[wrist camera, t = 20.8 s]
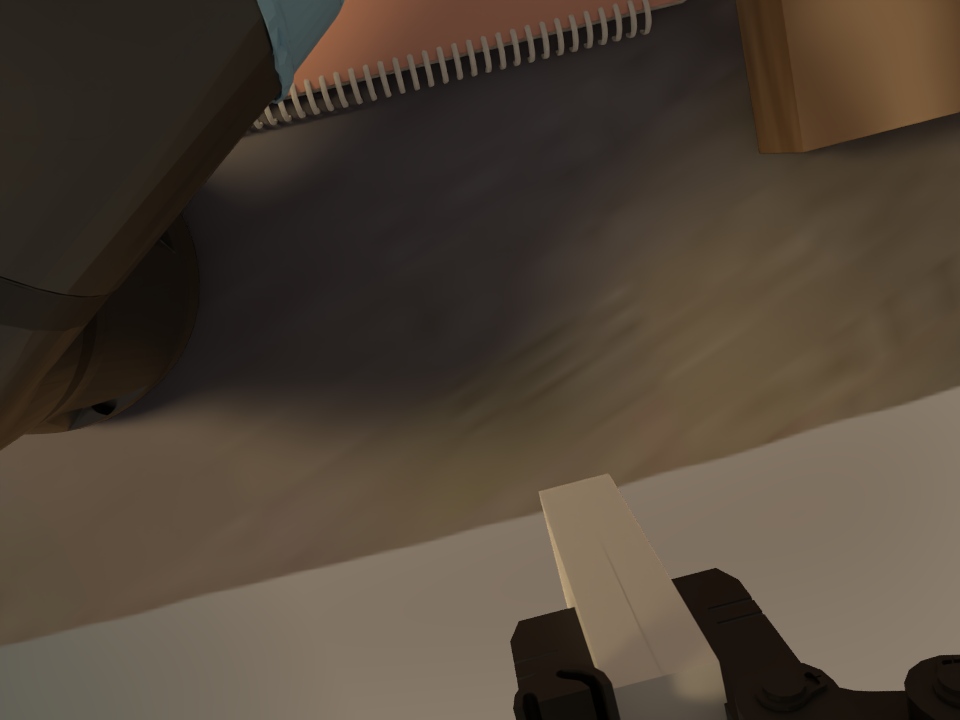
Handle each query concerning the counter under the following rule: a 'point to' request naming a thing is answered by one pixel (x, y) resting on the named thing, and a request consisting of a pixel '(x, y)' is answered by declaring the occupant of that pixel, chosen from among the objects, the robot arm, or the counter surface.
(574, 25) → the notebook
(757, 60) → the walnut stand
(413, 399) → the counter surface
